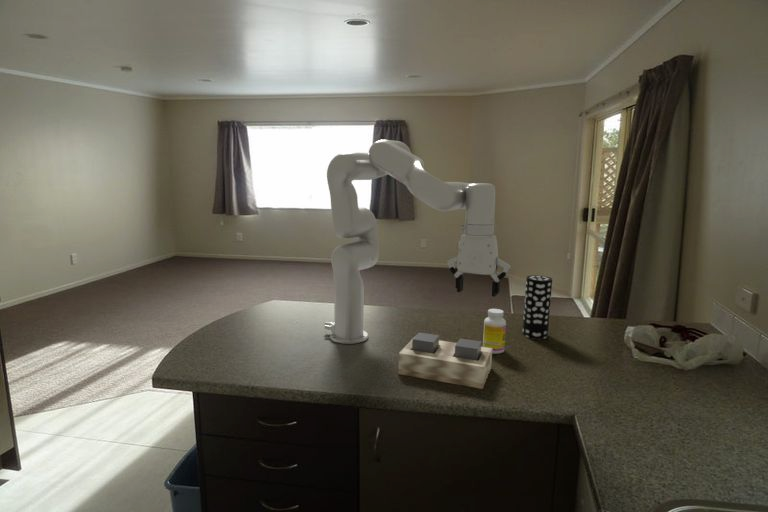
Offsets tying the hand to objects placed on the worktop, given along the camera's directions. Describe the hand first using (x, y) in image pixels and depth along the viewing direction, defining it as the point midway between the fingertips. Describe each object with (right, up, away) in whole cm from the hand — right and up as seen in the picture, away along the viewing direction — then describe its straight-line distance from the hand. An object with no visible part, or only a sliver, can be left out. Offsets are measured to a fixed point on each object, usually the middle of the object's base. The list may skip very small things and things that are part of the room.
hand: (477, 293), depth 129 cm
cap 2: (-2, -18, +1) cm, 18 cm away
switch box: (-8, -22, +4) cm, 24 cm away
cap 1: (-13, -17, +5) cm, 22 cm away
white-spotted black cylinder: (+27, -17, +35) cm, 47 cm away
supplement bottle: (+9, -20, +20) cm, 29 cm away
